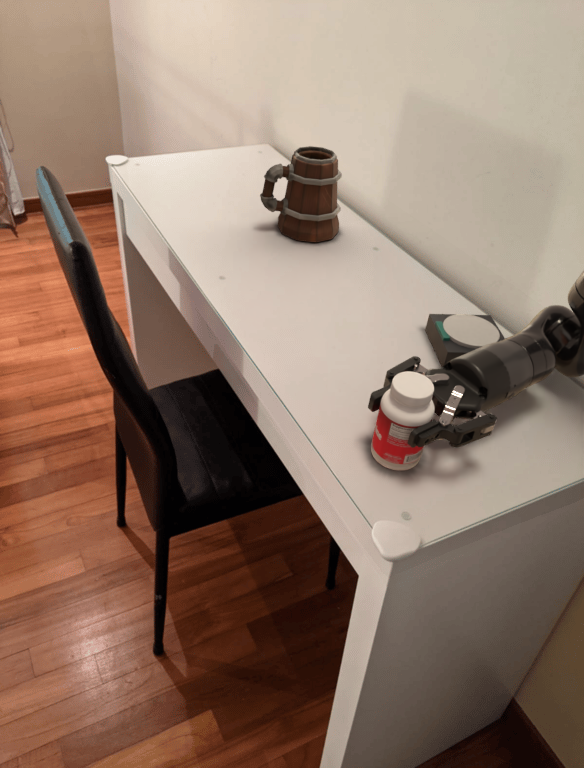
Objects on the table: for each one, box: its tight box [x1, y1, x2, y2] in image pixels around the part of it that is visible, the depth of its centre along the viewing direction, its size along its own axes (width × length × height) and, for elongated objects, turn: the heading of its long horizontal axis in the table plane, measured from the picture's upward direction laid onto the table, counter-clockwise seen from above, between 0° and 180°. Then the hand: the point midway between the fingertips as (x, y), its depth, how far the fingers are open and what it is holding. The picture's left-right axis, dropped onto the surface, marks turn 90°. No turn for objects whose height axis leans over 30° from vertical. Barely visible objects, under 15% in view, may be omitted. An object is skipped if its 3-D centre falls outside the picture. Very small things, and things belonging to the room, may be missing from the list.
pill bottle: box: [370, 371, 435, 471], centre depth 71 cm, size 6×6×11 cm
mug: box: [259, 145, 343, 243], centre depth 116 cm, size 16×12×15 cm
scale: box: [424, 313, 506, 367], centre depth 92 cm, size 10×10×4 cm
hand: (390, 421), depth 69 cm, fingers closed on pill bottle, 6 cm apart
